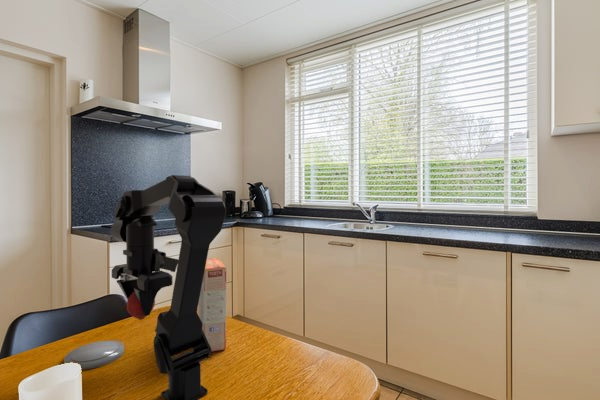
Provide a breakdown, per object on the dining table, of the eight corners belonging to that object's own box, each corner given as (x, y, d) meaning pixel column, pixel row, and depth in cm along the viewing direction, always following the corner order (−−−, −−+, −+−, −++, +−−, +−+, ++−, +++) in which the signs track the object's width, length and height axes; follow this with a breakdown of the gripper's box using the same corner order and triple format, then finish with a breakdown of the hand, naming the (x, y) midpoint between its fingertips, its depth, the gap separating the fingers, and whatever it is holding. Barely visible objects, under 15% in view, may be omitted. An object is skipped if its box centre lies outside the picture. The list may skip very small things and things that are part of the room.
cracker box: (227, 350, 79) (227, 266, 79) (202, 354, 77) (201, 268, 77) (219, 328, 92) (219, 256, 92) (197, 332, 90) (197, 258, 90)
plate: (132, 355, 77) (132, 348, 77) (73, 376, 68) (72, 369, 68) (113, 340, 85) (113, 335, 85) (57, 358, 76) (57, 351, 76)
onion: (143, 325, 70) (143, 289, 70) (120, 323, 71) (120, 287, 71) (160, 315, 76) (159, 282, 76) (138, 314, 77) (138, 281, 77)
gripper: (193, 244, 74) (194, 312, 74) (156, 238, 86) (156, 296, 86) (144, 251, 65) (145, 327, 65) (110, 243, 77) (111, 307, 77)
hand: (140, 312), depth 74 cm, fingers closed on onion, 6 cm apart
